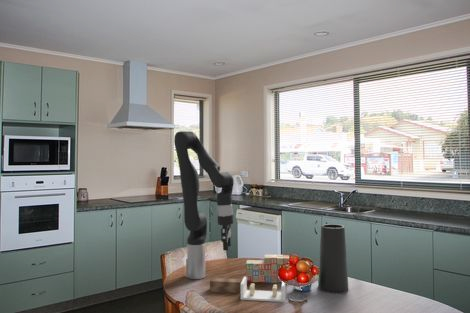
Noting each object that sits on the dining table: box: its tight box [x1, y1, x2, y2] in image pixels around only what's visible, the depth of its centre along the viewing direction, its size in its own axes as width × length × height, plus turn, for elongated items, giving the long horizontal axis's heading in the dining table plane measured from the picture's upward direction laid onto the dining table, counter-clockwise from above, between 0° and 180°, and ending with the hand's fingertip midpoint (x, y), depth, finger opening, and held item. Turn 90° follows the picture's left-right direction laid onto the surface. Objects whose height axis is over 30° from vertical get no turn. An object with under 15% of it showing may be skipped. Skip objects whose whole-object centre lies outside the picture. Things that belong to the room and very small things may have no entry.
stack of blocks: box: [245, 254, 290, 284], centre depth 188 cm, size 21×6×12 cm, turn 84°
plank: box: [209, 277, 242, 294], centre depth 175 cm, size 14×4×5 cm, turn 81°
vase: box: [317, 223, 349, 294], centre depth 177 cm, size 14×14×29 cm
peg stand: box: [239, 276, 287, 303], centre depth 166 cm, size 19×10×7 cm, turn 80°
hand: (227, 248), depth 181 cm, fingers open, 8 cm apart
